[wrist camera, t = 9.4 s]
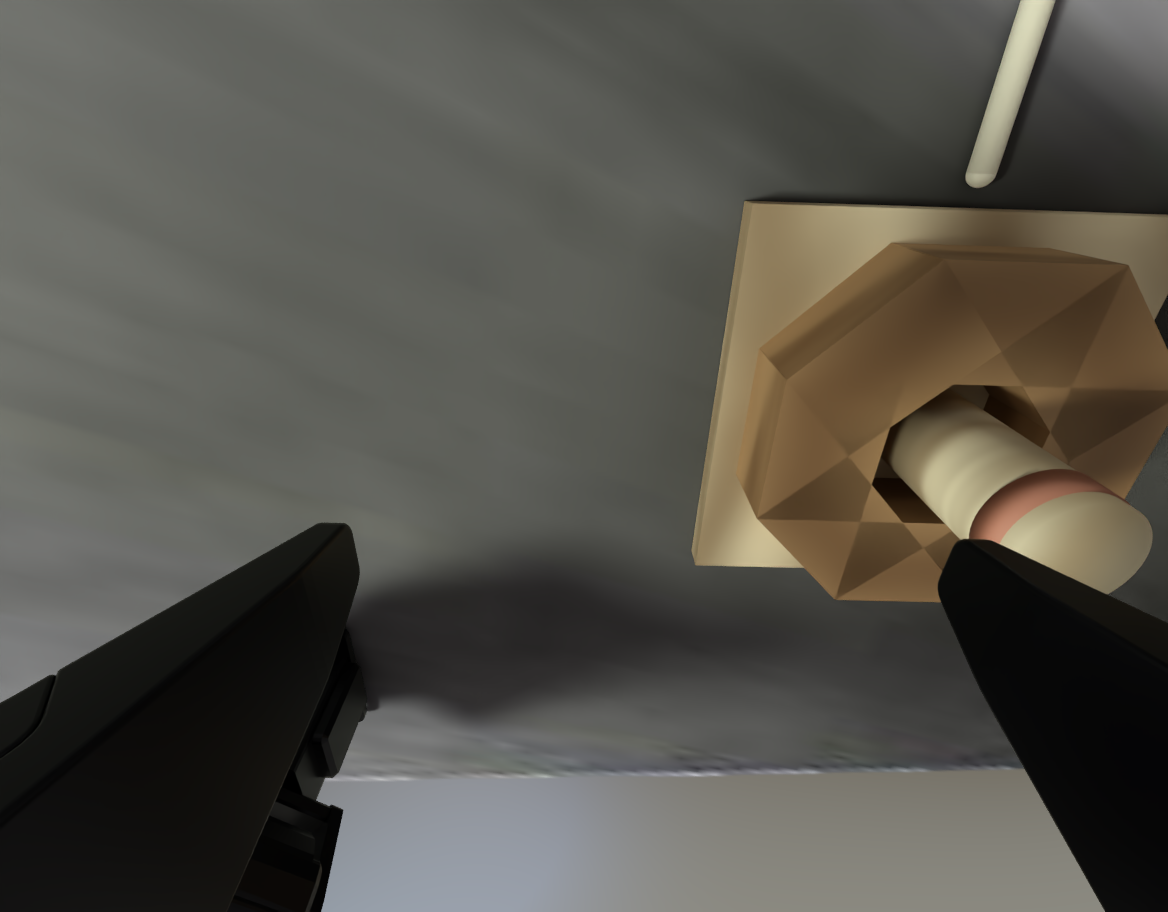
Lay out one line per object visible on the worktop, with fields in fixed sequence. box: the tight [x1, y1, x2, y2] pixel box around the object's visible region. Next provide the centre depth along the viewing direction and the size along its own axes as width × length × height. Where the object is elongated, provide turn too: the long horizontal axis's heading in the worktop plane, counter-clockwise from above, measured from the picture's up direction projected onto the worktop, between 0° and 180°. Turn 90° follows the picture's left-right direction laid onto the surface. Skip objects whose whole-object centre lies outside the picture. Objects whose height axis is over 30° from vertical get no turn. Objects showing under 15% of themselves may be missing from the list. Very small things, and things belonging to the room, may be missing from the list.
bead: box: [736, 243, 1168, 602], centre depth 19 cm, size 12×12×3 cm
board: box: [692, 201, 1168, 568], centre depth 21 cm, size 14×14×1 cm
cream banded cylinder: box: [881, 388, 1153, 594], centre depth 17 cm, size 3×3×8 cm
